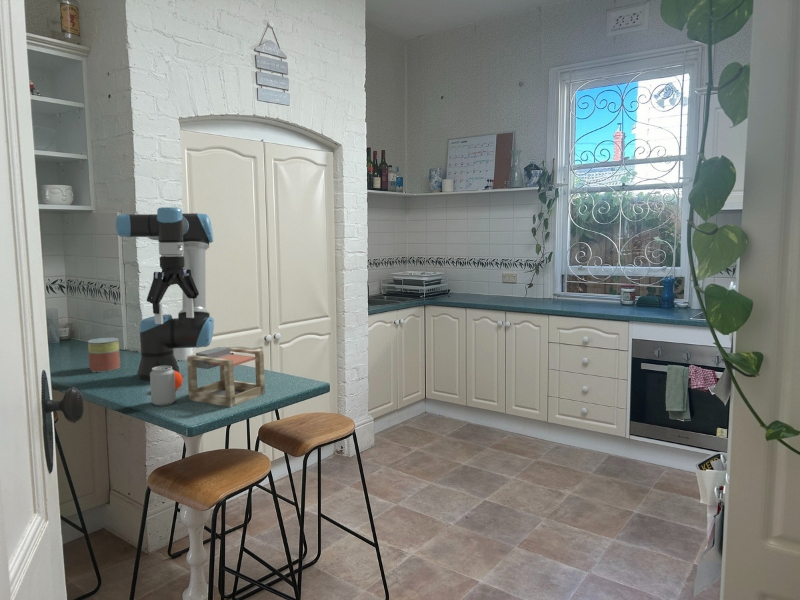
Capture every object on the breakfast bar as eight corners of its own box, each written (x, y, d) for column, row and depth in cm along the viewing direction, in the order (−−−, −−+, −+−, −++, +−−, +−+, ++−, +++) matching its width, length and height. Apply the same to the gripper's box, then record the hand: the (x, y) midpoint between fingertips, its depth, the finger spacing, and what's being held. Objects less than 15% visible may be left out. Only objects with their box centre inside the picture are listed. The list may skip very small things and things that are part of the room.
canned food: (126, 367, 242) (124, 338, 241) (101, 373, 232) (99, 343, 231) (108, 364, 248) (106, 336, 246) (83, 370, 238) (81, 341, 236)
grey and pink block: (194, 368, 197) (193, 353, 196) (221, 360, 209) (221, 346, 208) (231, 373, 190) (230, 358, 189) (257, 364, 202) (257, 350, 201)
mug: (177, 362, 252) (176, 340, 251) (166, 359, 258) (165, 338, 257) (202, 357, 261) (201, 336, 260) (192, 354, 267) (191, 334, 266)
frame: (189, 399, 197) (186, 355, 195) (224, 387, 212) (223, 346, 210) (230, 407, 189) (228, 361, 187) (264, 393, 204) (263, 351, 203)
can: (175, 405, 191) (173, 369, 190) (150, 407, 189) (148, 370, 188) (176, 398, 198) (175, 363, 197) (152, 400, 196) (150, 365, 195)
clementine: (159, 388, 211) (158, 369, 210) (179, 385, 215) (178, 366, 214) (165, 393, 205) (164, 373, 204) (185, 390, 209) (184, 370, 208)
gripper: (150, 257, 178) (153, 327, 180) (207, 254, 200) (210, 315, 203) (131, 257, 181) (135, 325, 183) (190, 253, 203) (193, 314, 206)
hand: (175, 320), depth 193 cm, fingers open, 13 cm apart
